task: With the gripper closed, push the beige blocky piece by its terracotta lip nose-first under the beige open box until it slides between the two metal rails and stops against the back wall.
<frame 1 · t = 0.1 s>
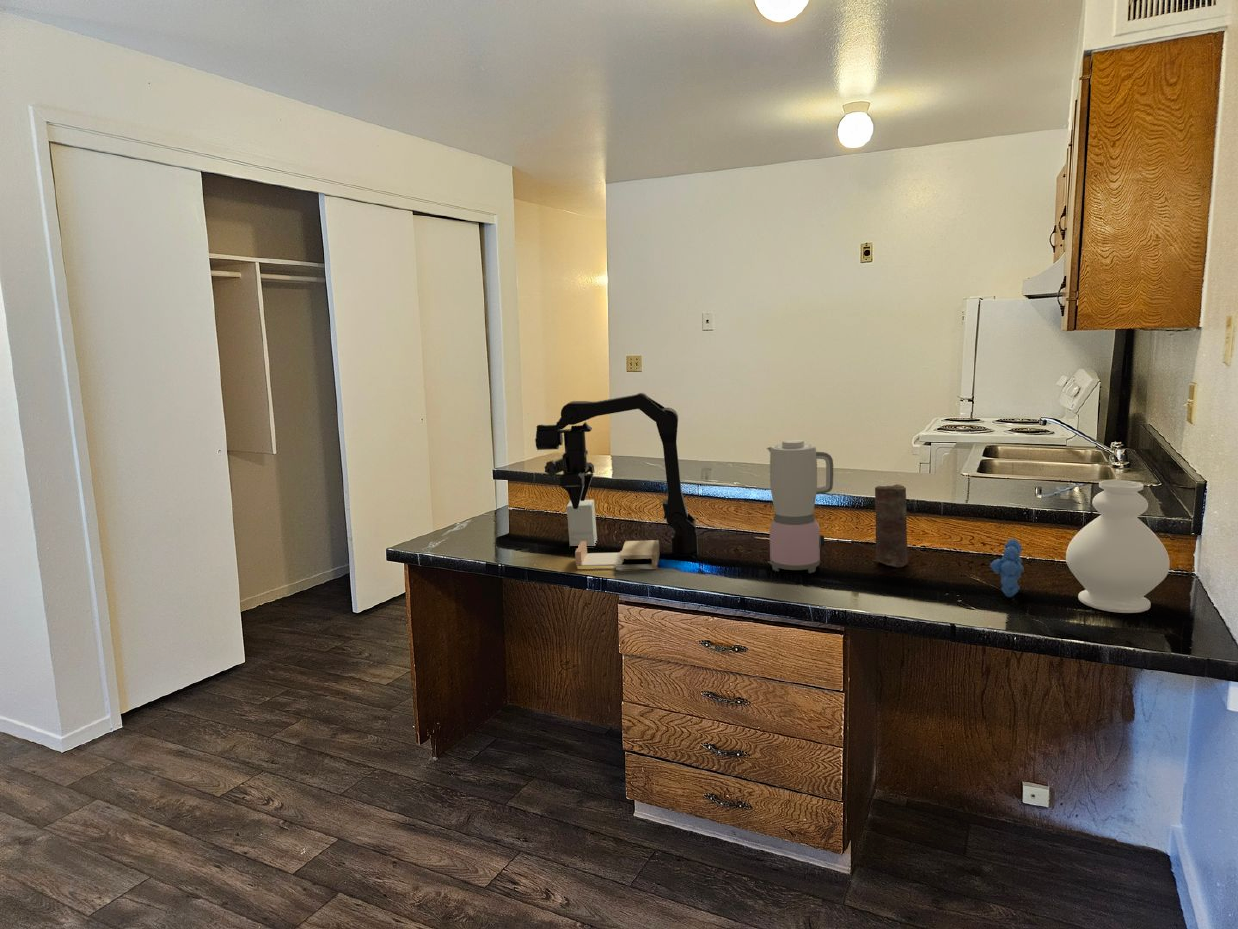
hand: (579, 504, 208), 15 cm above the worktop, tool pointing down, fingers open, 9 cm apart
supplement box: (583, 545, 222), on the worktop
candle: (891, 564, 190), on the worktop
grapes: (1006, 594, 166), on the worktop
beige open box: (634, 562, 203), on the worktop
decorative vase: (1113, 602, 158), on the worktop
beige blocky piece: (601, 564, 204), on the worktop
blender: (801, 567, 191), on the worktop
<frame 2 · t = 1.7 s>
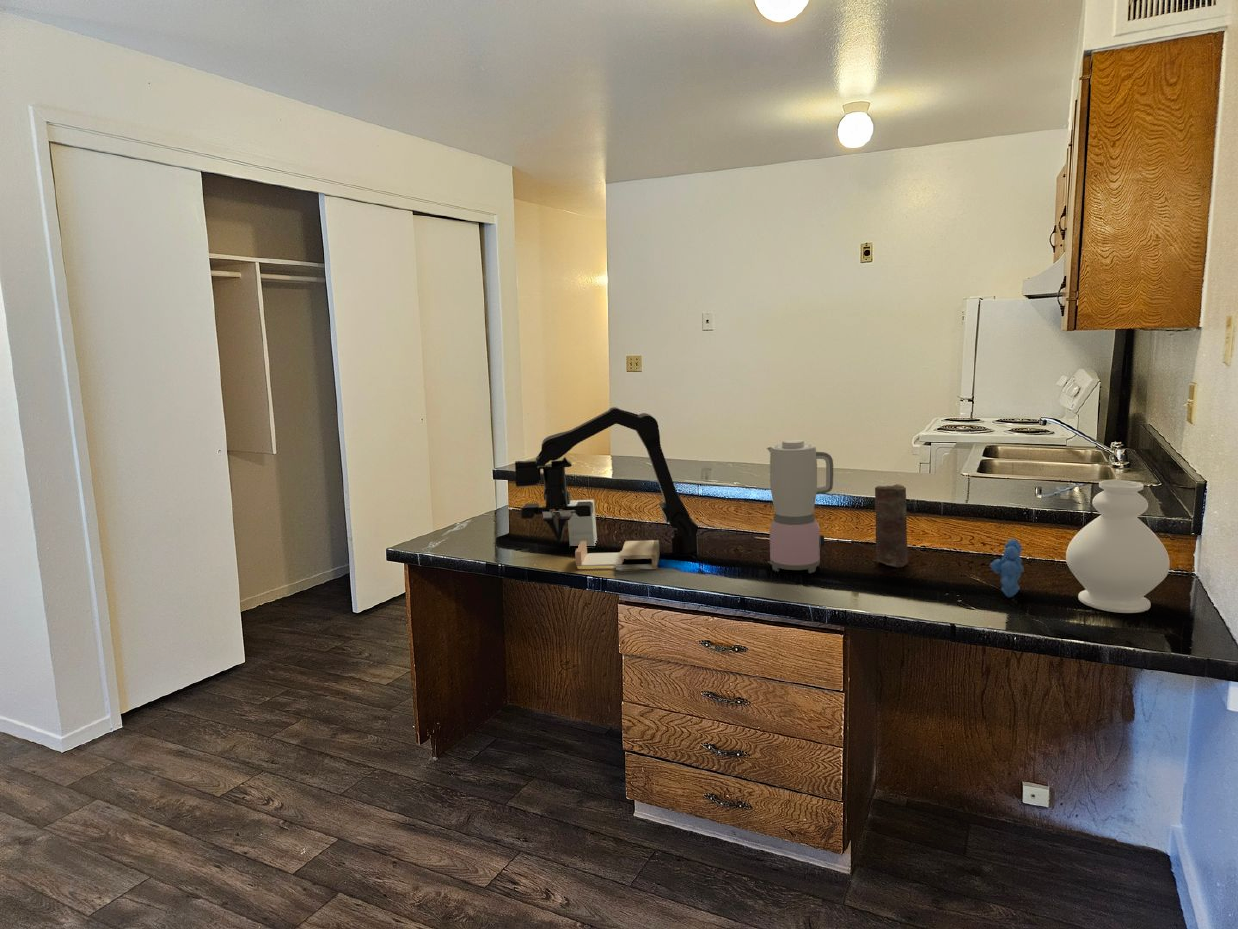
hand: (559, 541, 204), 6 cm above the worktop, tool pointing down, fingers closed
nothing on the worktop moved.
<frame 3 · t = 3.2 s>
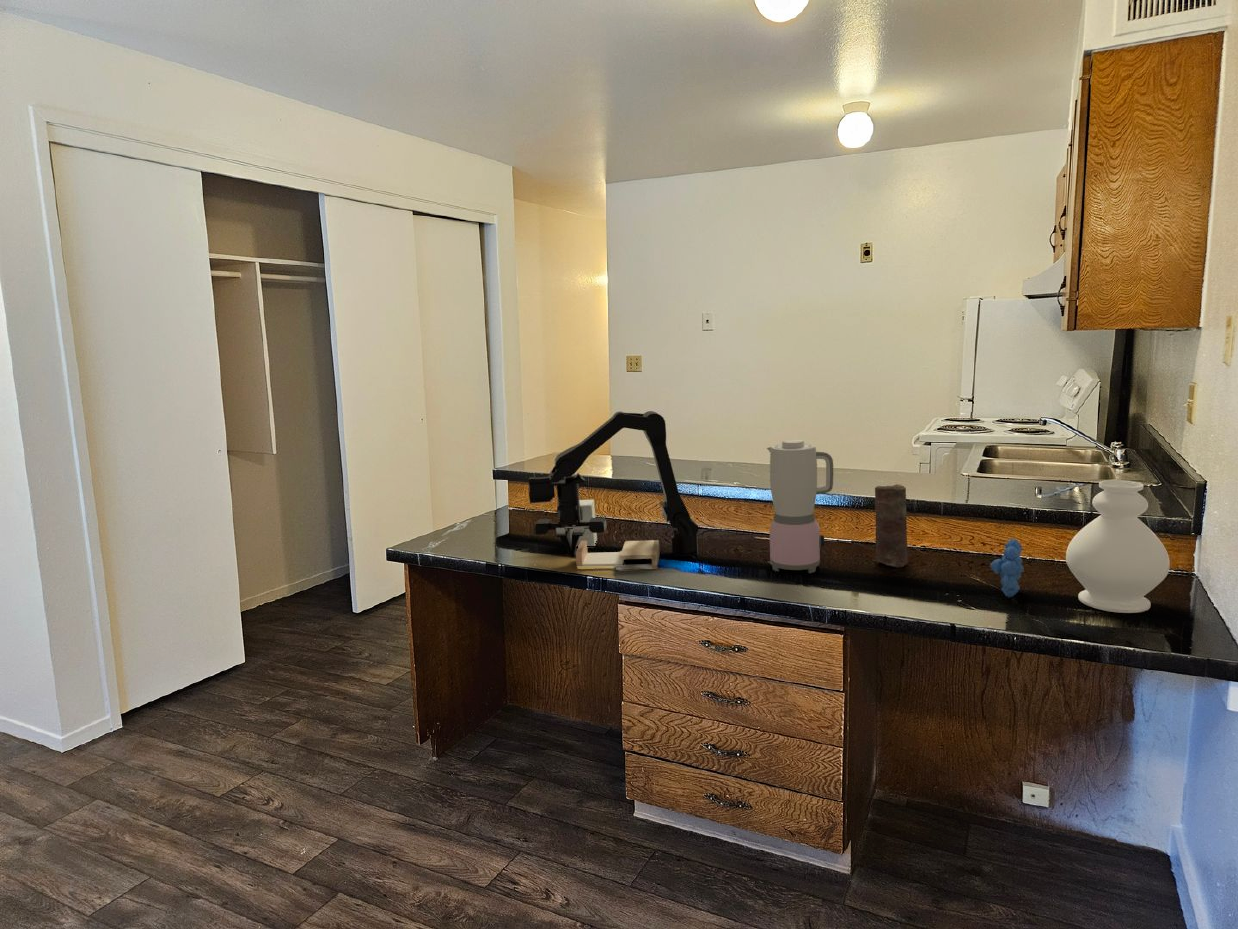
hand: (572, 556, 204), 2 cm above the worktop, tool pointing down, fingers closed
beige blocky piece: (602, 563, 204), on the worktop, touching gripper
everything else where it was.
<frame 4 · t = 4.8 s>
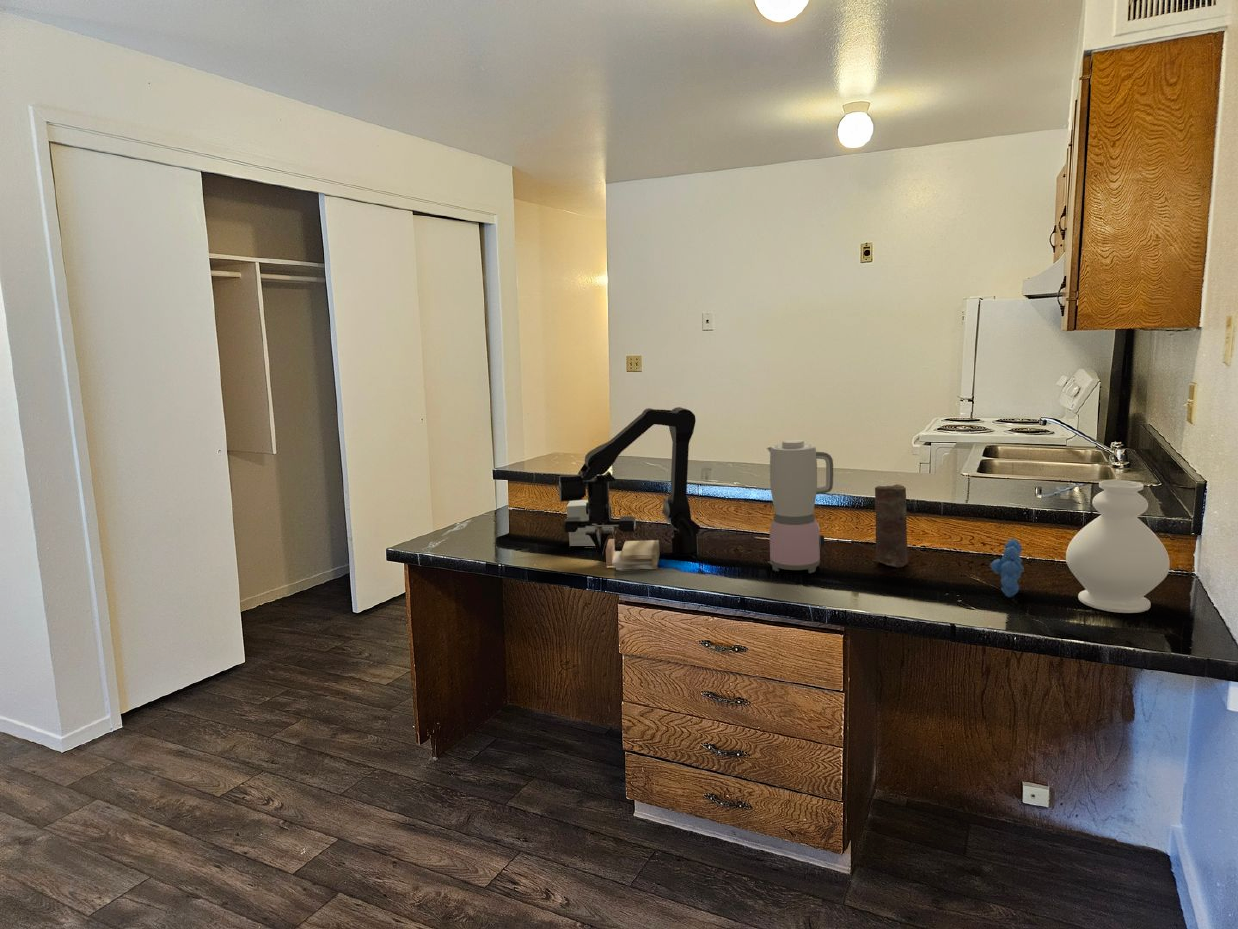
hand: (601, 555, 203), 2 cm above the worktop, tool pointing down, fingers closed
beige blocky piece: (630, 561, 203), on the worktop, touching gripper, beige open box
everything else where it was.
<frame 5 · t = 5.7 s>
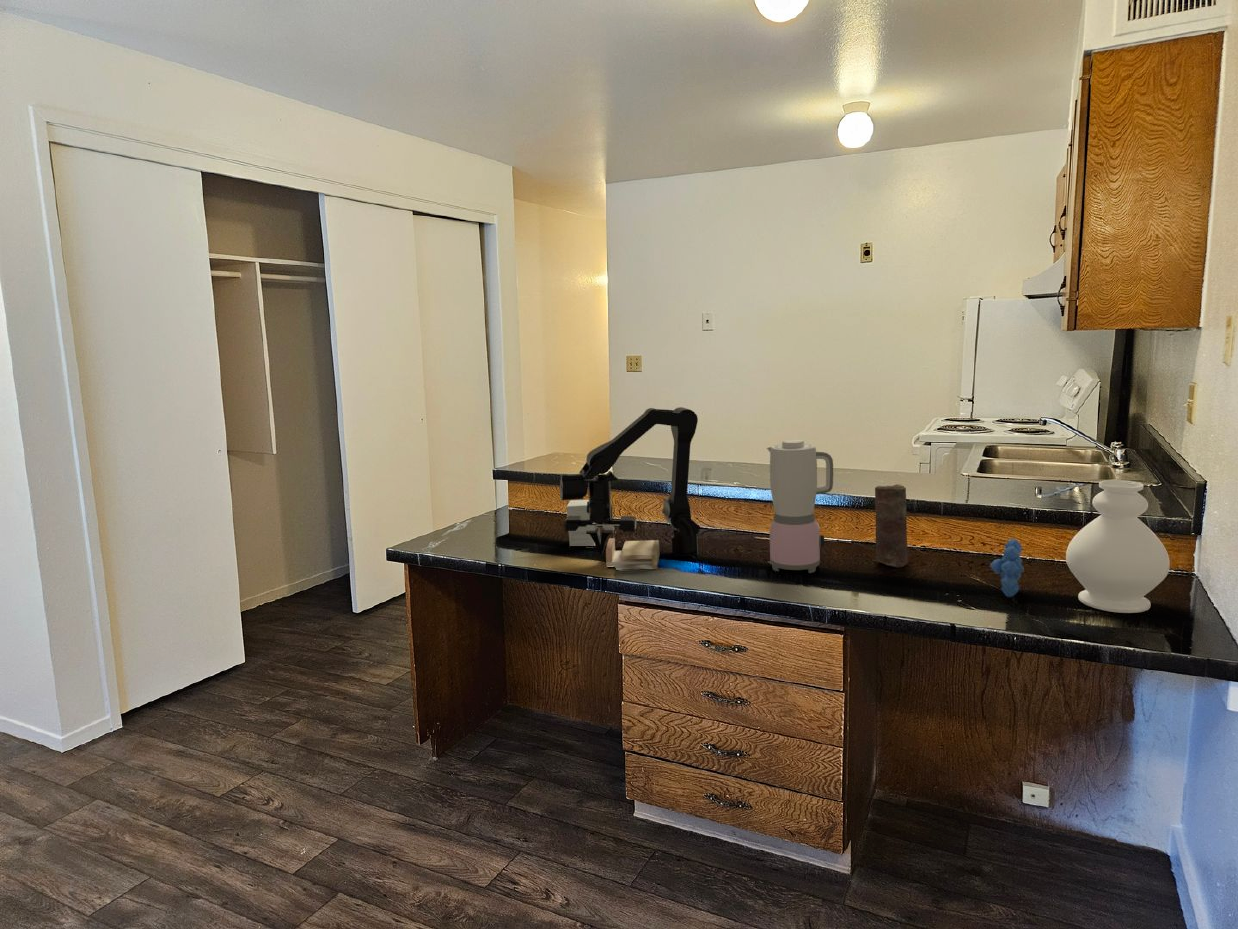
hand: (601, 554, 203), 2 cm above the worktop, tool pointing down, fingers closed
nothing on the worktop moved.
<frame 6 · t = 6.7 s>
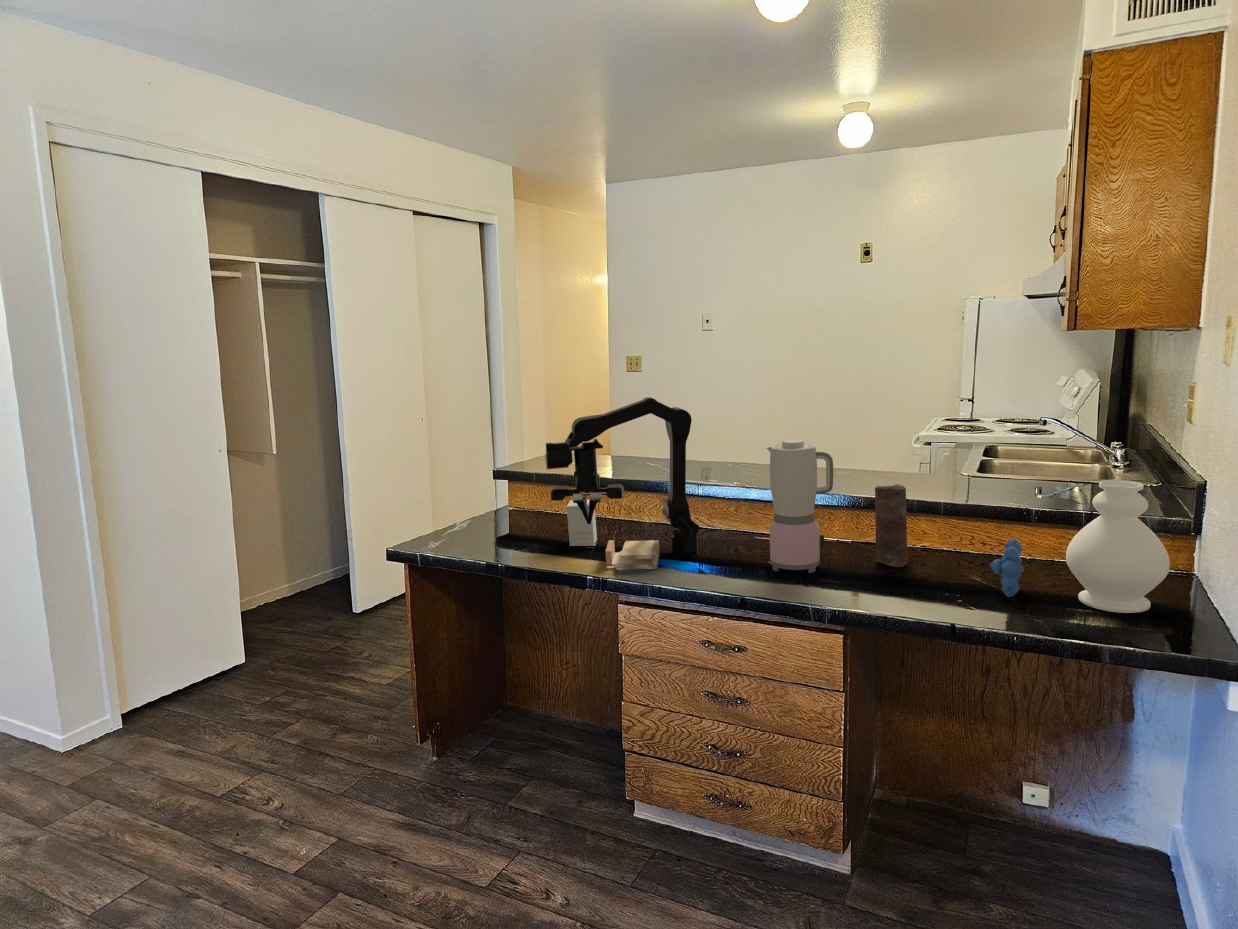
hand: (589, 523, 202), 11 cm above the worktop, tool pointing down, fingers closed
beige blocky piece: (630, 563, 203), on the worktop
everything else where it was.
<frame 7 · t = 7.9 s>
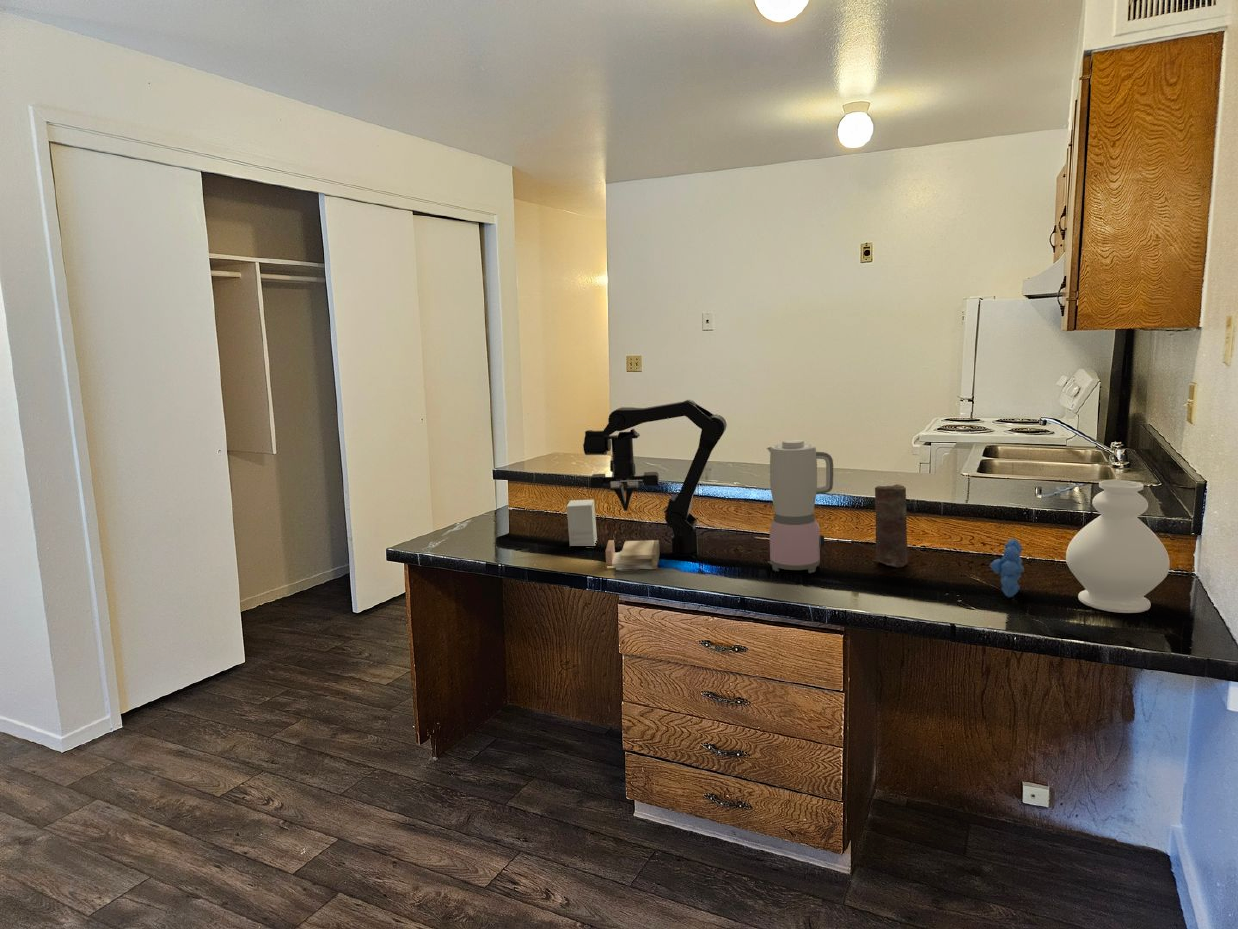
hand: (626, 510, 209), 12 cm above the worktop, tool pointing down, fingers closed
nothing on the worktop moved.
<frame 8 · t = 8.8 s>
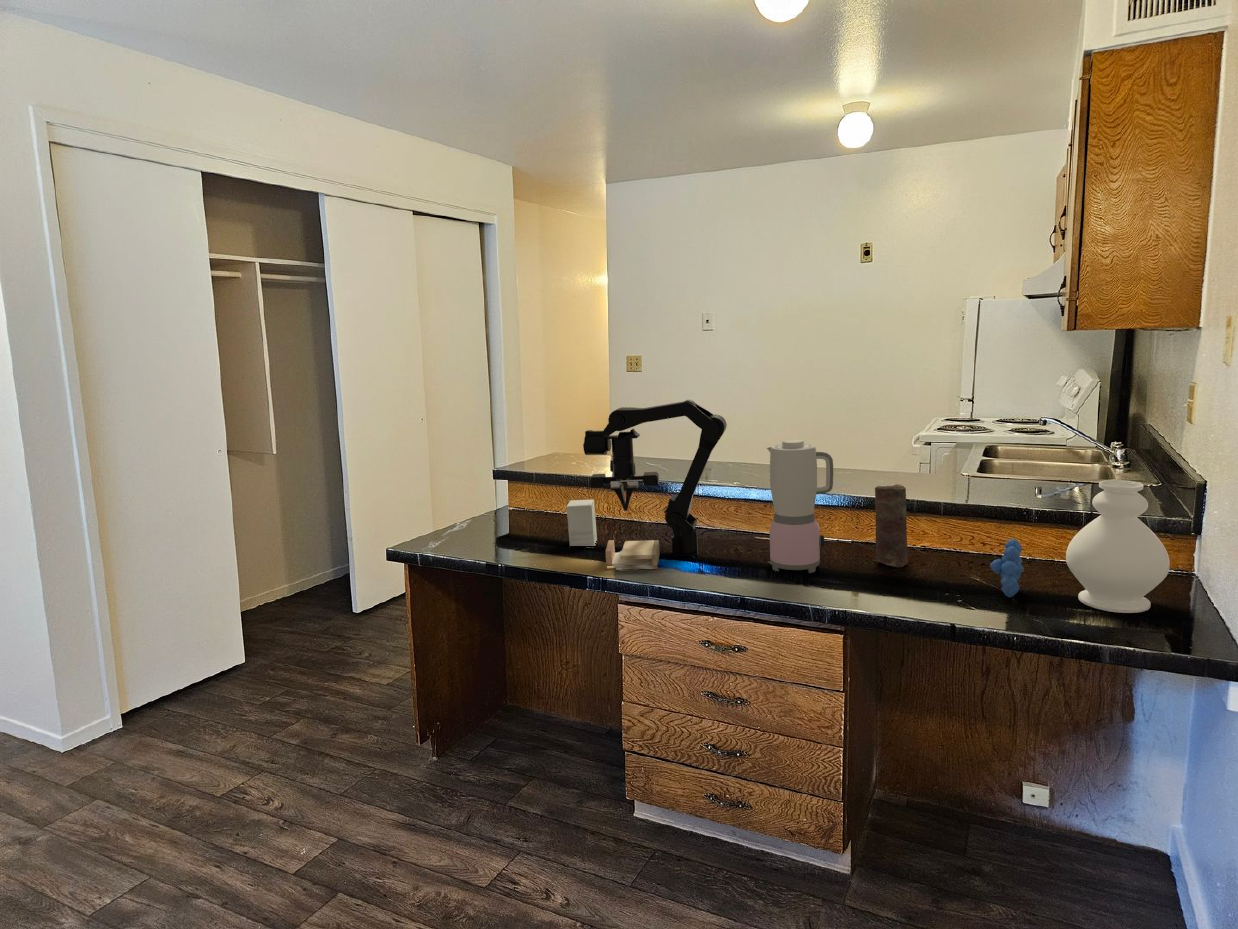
hand: (626, 510, 209), 12 cm above the worktop, tool pointing down, fingers closed
nothing on the worktop moved.
at the end: beige blocky piece 0.5 cm from the target spot, on the worktop; beige blocky piece tilted 0° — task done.
